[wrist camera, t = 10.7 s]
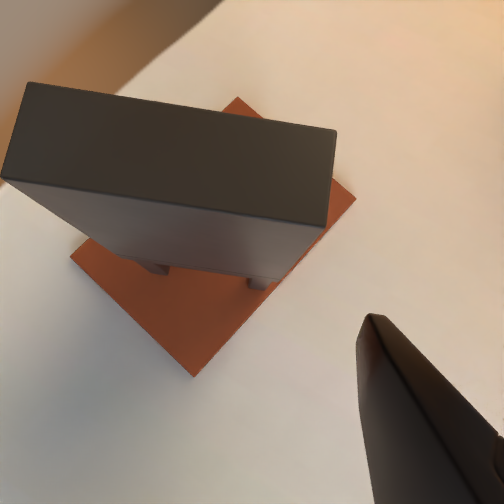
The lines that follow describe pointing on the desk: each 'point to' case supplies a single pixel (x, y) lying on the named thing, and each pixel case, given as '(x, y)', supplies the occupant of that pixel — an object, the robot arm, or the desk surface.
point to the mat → (188, 290)
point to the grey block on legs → (174, 180)
